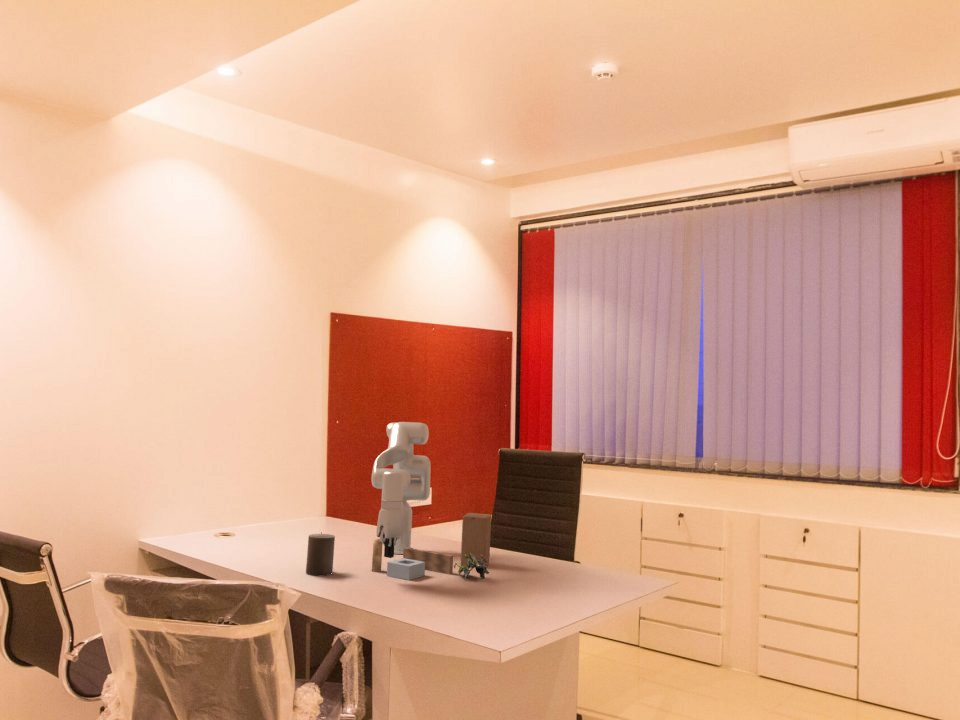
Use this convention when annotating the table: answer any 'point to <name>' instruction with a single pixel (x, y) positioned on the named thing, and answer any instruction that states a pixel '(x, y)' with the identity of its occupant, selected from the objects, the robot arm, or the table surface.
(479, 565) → the passion flower
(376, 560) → the oak dowel
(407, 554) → the walnut wall
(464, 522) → the wooden block
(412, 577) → the socket block
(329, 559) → the pillar candle
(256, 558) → the table surface
